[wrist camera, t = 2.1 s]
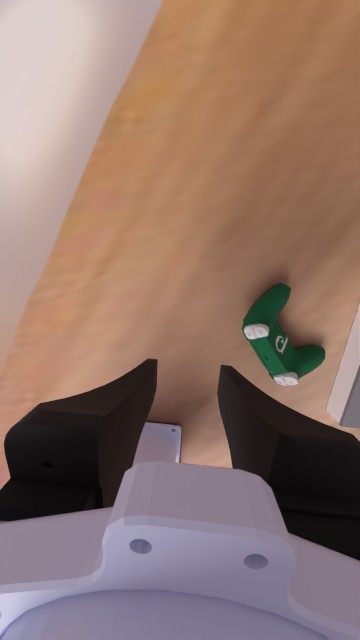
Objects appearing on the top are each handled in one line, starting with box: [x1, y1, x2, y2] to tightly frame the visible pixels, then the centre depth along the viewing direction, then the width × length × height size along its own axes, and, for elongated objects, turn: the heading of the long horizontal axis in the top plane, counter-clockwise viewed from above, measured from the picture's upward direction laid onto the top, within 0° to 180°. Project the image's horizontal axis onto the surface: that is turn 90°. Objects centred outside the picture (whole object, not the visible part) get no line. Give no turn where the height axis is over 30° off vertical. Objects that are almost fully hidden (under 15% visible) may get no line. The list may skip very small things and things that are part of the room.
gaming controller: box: [242, 283, 325, 386], centre depth 18 cm, size 9×4×6 cm
